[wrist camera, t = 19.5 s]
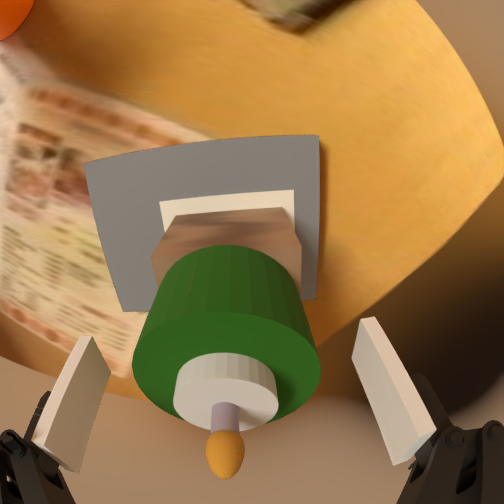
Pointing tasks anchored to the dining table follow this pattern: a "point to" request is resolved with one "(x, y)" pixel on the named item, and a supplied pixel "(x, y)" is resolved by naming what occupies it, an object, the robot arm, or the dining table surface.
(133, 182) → the board
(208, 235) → the block
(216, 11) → the dining table surface
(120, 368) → the dining table surface
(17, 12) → the shaker bottle
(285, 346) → the candle
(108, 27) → the dining table surface
